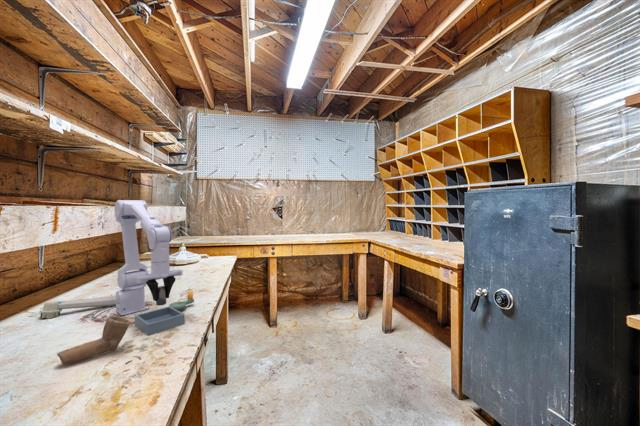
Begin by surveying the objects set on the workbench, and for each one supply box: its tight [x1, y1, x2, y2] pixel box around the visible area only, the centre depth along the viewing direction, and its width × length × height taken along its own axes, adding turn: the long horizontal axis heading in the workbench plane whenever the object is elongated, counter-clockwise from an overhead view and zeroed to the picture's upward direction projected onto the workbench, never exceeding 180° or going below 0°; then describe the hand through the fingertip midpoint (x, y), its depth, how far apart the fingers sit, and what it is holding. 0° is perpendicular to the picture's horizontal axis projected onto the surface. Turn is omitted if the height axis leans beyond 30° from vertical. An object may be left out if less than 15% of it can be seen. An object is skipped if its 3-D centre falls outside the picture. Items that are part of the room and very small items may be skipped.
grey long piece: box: [39, 294, 116, 320], centre depth 117 cm, size 5×7×25 cm
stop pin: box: [155, 285, 167, 306], centre depth 104 cm, size 3×3×6 cm
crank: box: [168, 290, 195, 310], centre depth 119 cm, size 10×6×5 cm, turn 152°
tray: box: [134, 305, 186, 336], centre depth 104 cm, size 12×12×4 cm
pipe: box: [56, 315, 131, 365], centre depth 83 cm, size 6×17×10 cm, turn 133°
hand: (161, 299), depth 104 cm, fingers closed on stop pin, 3 cm apart
